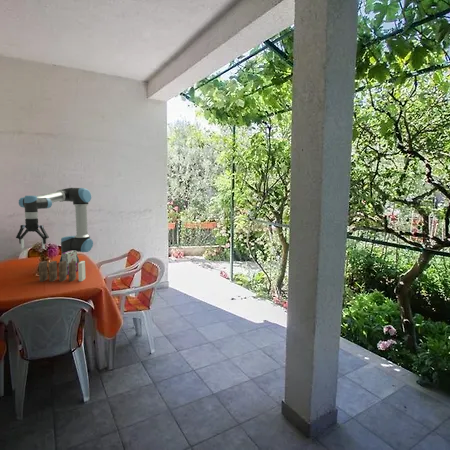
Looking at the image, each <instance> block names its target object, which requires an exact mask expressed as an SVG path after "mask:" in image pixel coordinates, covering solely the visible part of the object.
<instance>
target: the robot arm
mask: <svg viewBox="0 0 450 450" xmlns="http://www.w3.org/2000/svg"><path fill="white" fill-rule="evenodd" d="M91 200H92V193H91V191H90V190H89V189H88V188H85V187H66V188H63V189H62V188H61V189H58V190H56V191H55V192H54V191H53V192H49V193H44V194H39V195H25V196H24V197H20V198H19V200H18V205H19V206H20V207H21V208H22V209H23V208H24V217H25V219H24V220H25V221H24V223H25V224H21V225H20V228H19V230H18V232H17V234H16V236H15V239H19V241H18V242H19V245H20V249H21V250H23V249H25V240H24V237H25V236H26V235H27V234H28V233H29V232H30V233H31V232H32V233H33V232H34V233H37V235H38V236H39V237H40V238H41V250H43V249H44V250H45V248H46V247H45V246H46V244H47V239H49V235H48V233H47V231H46V230H45V228H44V225H43V224H40V225H39V219H38V218H39V215H38V213H39V212H38V210H42V209H50V208H51V207H52V205H53V203H56V202H70V203H71V202H72V204H73V205H74V207H75V208H74V209H75V210H74V211H75V229H76V230H75V231H76V234H75V235H69V236H63V237H61V239H60V247H61V250H60V251H61V255H60V259H59V263H60V262H62V253H65V252H68V251H72V250H73V251H77V252H78V253H89V252H91V250H92V248H93V246H94V241H93V239H92V238H91V237H90V235H89V234H88V231H89V229H88V209H87V206H89V203H90V202H91ZM24 229H25V230H24ZM23 231H24V232H23ZM79 262H80V259H79V256H78V255H77V264H78V263H79Z"/></svg>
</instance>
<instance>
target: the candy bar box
mask: <svg viewBox="0 0 450 450" xmlns="http://www.w3.org/2000/svg"><path fill="white" fill-rule="evenodd" d="M61 255H62V261H66V272H67V276H69V267H68V263H70V262H71V261H76V272H78V263H77V256H78V253H77V251H73V250H72V251H68V252H65V253H62V252H61Z"/></svg>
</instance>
